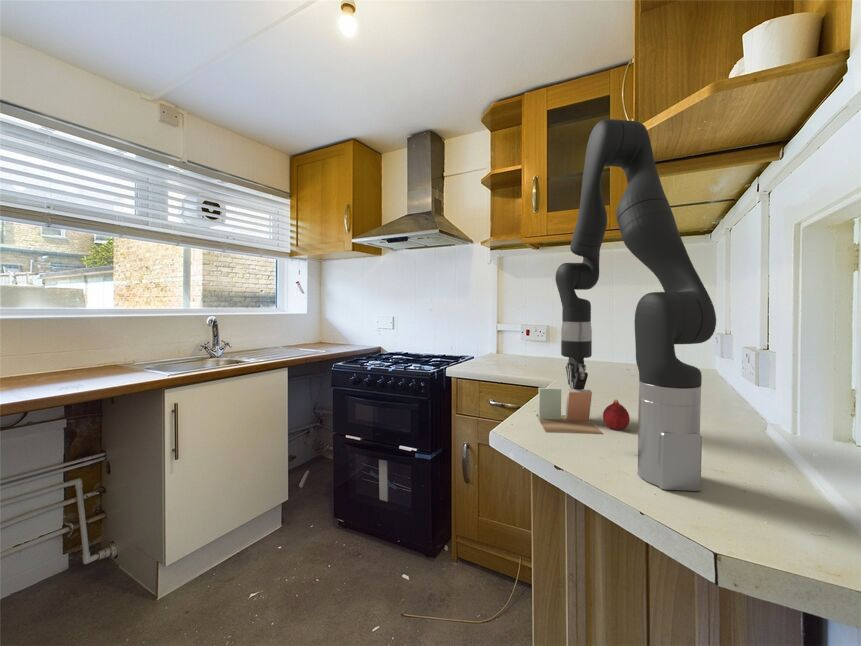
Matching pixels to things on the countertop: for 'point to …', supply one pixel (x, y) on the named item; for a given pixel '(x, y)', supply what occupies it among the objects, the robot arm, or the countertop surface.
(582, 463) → the countertop surface
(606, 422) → the onion
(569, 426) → the walnut board
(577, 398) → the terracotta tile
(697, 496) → the countertop surface
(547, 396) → the sage tile
